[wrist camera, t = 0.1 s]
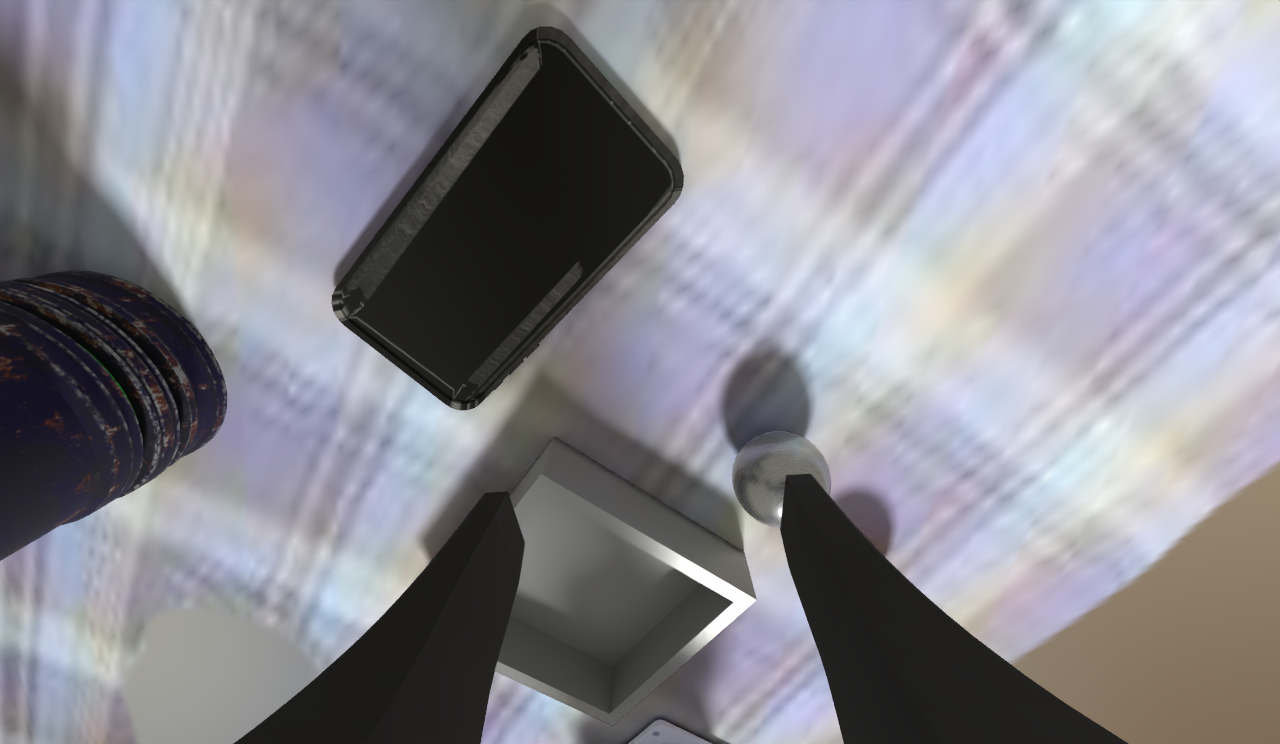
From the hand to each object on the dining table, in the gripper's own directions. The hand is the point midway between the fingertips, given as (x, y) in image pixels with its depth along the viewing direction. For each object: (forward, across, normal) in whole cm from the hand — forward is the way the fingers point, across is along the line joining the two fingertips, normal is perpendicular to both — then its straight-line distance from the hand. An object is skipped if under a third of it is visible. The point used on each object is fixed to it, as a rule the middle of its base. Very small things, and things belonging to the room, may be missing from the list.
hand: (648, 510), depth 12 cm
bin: (+8, +4, +14) cm, 17 cm away
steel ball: (+7, -6, +7) cm, 11 cm away
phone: (+12, +6, -4) cm, 14 cm away
